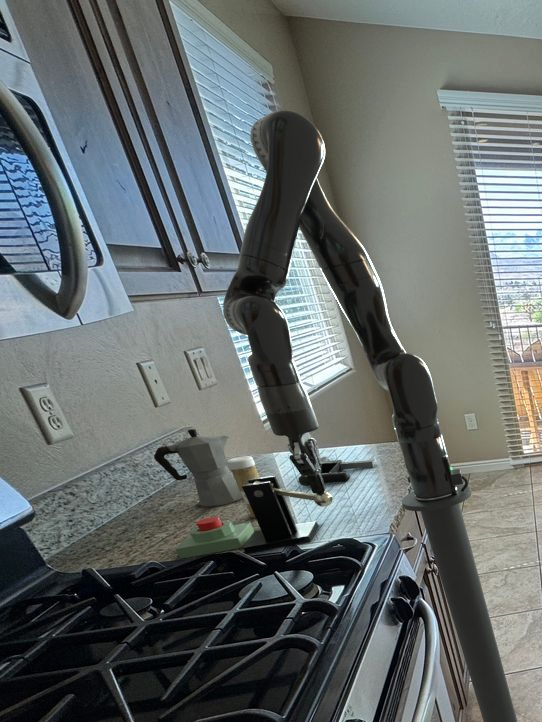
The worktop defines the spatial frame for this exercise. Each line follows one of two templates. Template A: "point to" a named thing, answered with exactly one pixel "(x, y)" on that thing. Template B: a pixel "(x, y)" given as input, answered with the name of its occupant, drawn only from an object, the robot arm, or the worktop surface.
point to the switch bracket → (273, 518)
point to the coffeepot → (203, 467)
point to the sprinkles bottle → (243, 474)
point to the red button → (209, 524)
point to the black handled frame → (336, 470)
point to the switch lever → (306, 496)
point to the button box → (215, 539)
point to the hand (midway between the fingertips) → (319, 491)
